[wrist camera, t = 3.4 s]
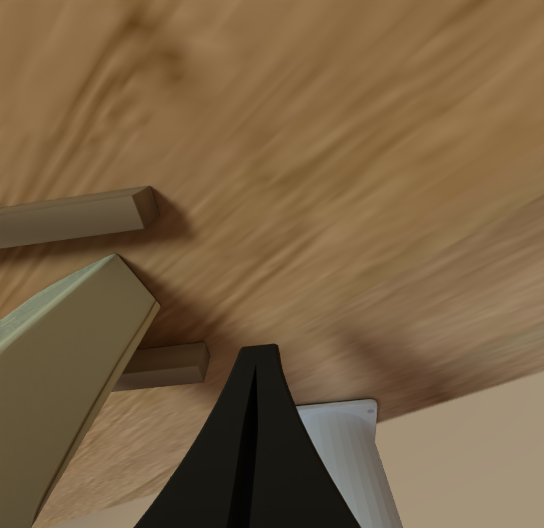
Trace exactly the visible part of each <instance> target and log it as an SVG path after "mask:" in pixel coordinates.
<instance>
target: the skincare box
mask: <svg viewBox="0 0 544 528" xmlns="http://www.w3.org/2000/svg"><path fill="white" fill-rule="evenodd" d="M159 309H160V305H159V303H158V302H157V301H156V300H155V299H154V297H153V296H152V295H151V294H150V292H149V291H148V290H147V289H146V288H145V286H144V285H143V284H142V283H141V282H140V281H139V279H138V278H137V277H136V276H135V275H134V273H133V272H132V271H131V270H130V269H129V268H128V266H127V265H126V264H125V263H124V262H123V261H122V259H121V258H120V257H119V256H118V255H116V254H111V255H109V256H107V257H105V258H103V259H101V260H99V261H97V262H95V263H93V264H91V265H89V266H87V267H85V268H83V269H81V270H79V271H77V272H75V273H73V274H71V275H69V276H68V277H66V278H64V279H62V280H60V281H58V282H56V283H54V284H53V285H51V286H49V287H47V288H45V289H44V290H42V291H40V292H38V293H37V294H35V295H34V296H33V297H31V298H30V299H29V300H27V301H26V302H25V303H23V304H22V305H21V306H19V307H18V308H16V309H15V310H14V311H12V312H11V313H10V314H8V315H7V316H5V317H4V318H3V319H1V320H0V528H31V527H32V525H33V524H34V522H35V520H36V519H37V517H38V515H39V513H40V512H41V510H42V508H43V507H44V505H45V503H46V501H47V500H48V498H49V496H50V494H51V493H52V491H53V489H54V488H55V486H56V484H57V483H58V481H59V479H60V478H61V476H62V475H63V473H64V471H65V470H66V468H67V466H68V464H69V463H70V461H71V459H72V457H73V456H74V454H75V452H76V451H77V449H78V447H79V445H80V444H81V442H82V440H83V439H84V437H85V435H86V433H87V432H88V430H89V428H90V427H91V425H92V423H93V422H94V420H95V418H96V416H97V415H98V413H99V411H100V410H101V408H102V406H103V405H104V403H105V401H106V400H107V398H108V396H109V394H110V393H111V391H112V389H113V388H114V386H115V384H116V383H117V381H118V379H119V378H120V376H121V374H122V372H123V371H124V369H125V367H126V365H127V364H128V362H129V360H130V359H131V357H132V355H133V354H134V352H135V350H136V348H137V347H138V345H139V344H140V342H141V340H142V338H143V336H144V335H145V333H146V331H147V330H148V328H149V326H150V325H151V323H152V321H153V319H154V318H155V316H156V314H157V313H158V311H159Z"/></svg>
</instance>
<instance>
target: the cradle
mask: <svg viewBox="0 0 544 528" xmlns="http://www.w3.org/2000/svg"><path fill="white" fill-rule="evenodd" d="M159 215H160V213H159V210H158V207H157V205H156V202H155V199H154V196H153V193H152V190H151V187H150V186H144V187H137V188H130V189H124V190H117V191H110V192H103V193H97V194H90V195H83V196H76V197H70V198H63V199H56V200H49V201H43V202H36V203H29V204H22V205H16V206H9V207H2V208H0V249H1V248H8V247H15V246H23V245H30V244H37V243H44V242H51V241H59V240H66V239H73V238H80V237H87V236H95V235H102V234H109V233H116V232H123V231H131V230H138V229H144V228H146V227H147V226H148V225H149V224H150V223H151V222H152V221H154V220H155V219H156V218H157V217H158V216H159ZM209 360H210V356H209V353H208V351H207V348H206V345H205V342H201V343H192V344H183V345H174V346H165V347H157V348H148V349H139V350H135V352H134V354H133V355H132V357H131V359H130V360H129V362H128V364H127V365H126V367H125V369H124V371H123V372H122V374H121V376H120V378H119V379H118V381H117V383H116V384H115V386H114V388H113V389H112V391H111V392H115V391H125V390H135V389H144V388H154V387H163V386H173V385H183V384H192V383H202V382H204V380H205V376H206V372H207V368H208V364H209Z"/></svg>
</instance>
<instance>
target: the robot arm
mask: <svg viewBox="0 0 544 528" xmlns="http://www.w3.org/2000/svg"><path fill="white" fill-rule="evenodd" d="M377 407H378V406H377V403H376V401H375V400H373V399H366V400H356V401H345V402H335V403H325V404H315V405H304V406H295V403H294V401H293V398H292V396H291V393H290V390H289V388H288V385H287V382H286V379H285V376H284V373H283V370H282V365H281V359H280V353H279V347H278V345H276V344H267V345H257V346H248V347H242V348H241V349H240V351H239V354H238V357H237V359H236V362H235V364H234V366H233V369H232V371H231V373H230V376H229V378H228V380H227V382H226V384H225V386H224V388H223V390H222V392H221V394H220V396H219V398H218V400H217V402H216V404H215V406H214V408H213V410H212V412H211V413H210V415H209V417H208V419H207V421H206V422H205V424H204V426H203V428H202V430H201V431H200V433H199V435H198V436H197V438H196V440H195V441H194V443H193V445H192V446H191V448H190V449H189V451H188V452H187V454H186V456H185V457H184V459H183V460H182V462H181V463H180V465H179V466H178V468H177V469H176V471H175V472H174V474H173V475H172V476H171V478H170V479H169V481H168V482H167V484H166V485H165V487H164V488H163V489H162V491H161V492H160V494H159V495H158V496H157V498H156V499H155V500H154V502H153V503H152V505H151V506H150V507H149V509H148V510H147V511H146V512H145V514H144V515H143V516H142V518H141V519H140V520H139V521H138V523H137V524H136V525H135V527H134V528H403V526H402V523H401V520H400V517H399V514H398V511H397V508H396V505H395V502H394V499H393V496H392V493H391V490H390V487H389V484H388V481H387V478H386V475H385V472H384V469H383V465H382V462H381V459H380V457H379V453H378V450H377V447H376V444H375V433H376V420H377Z"/></svg>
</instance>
